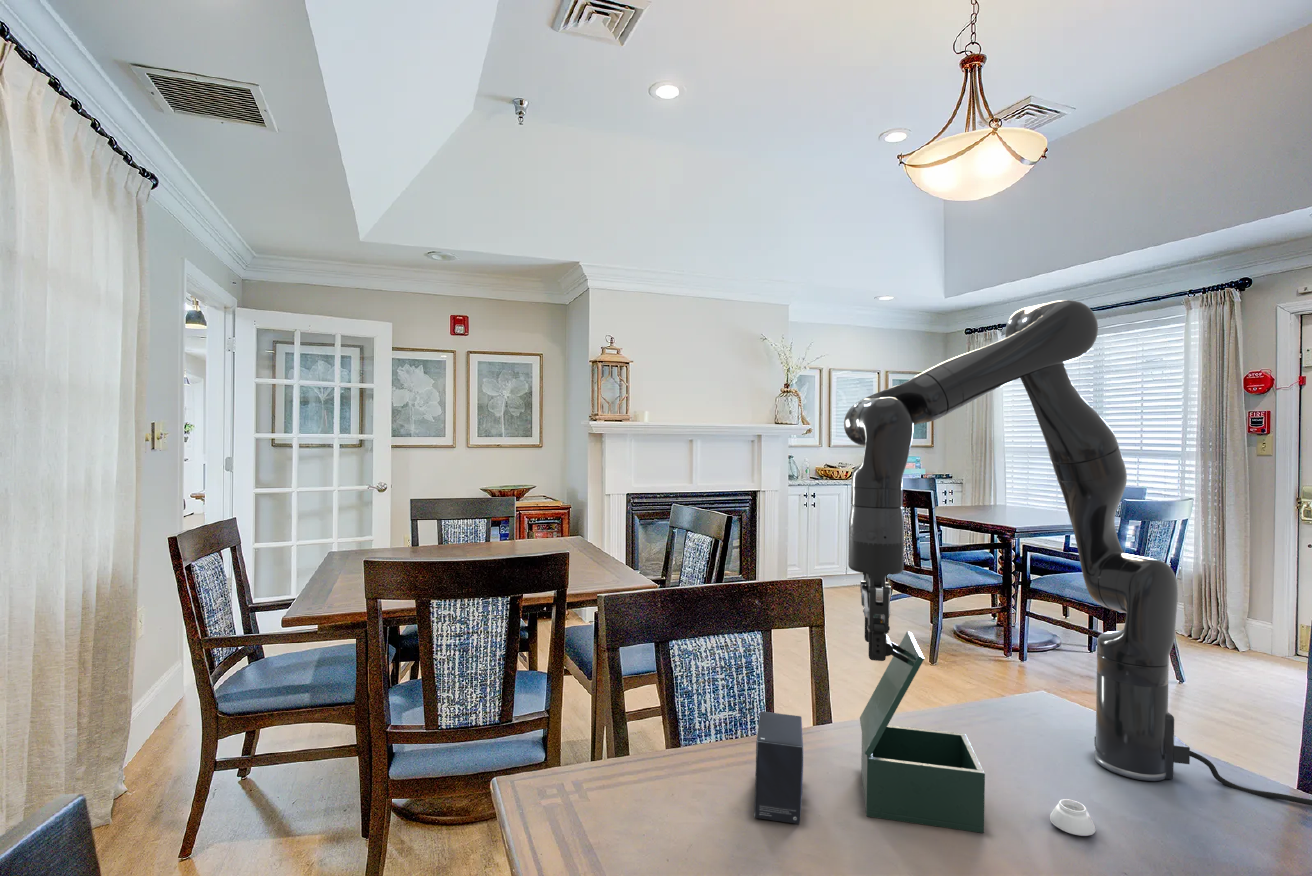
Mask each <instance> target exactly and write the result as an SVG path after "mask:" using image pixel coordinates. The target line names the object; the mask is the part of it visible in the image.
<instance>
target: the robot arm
mask: <svg viewBox="0 0 1312 876" xmlns="http://www.w3.org/2000/svg"><path fill="white" fill-rule="evenodd" d="M1098 333H1099V323H1098V319H1097V317H1096V315H1095V313H1094V311H1093V310H1092V309H1091V308H1090V307H1089V306H1088V305H1087V304H1085V303H1083V302H1081V301H1077V300H1073V299H1072V300H1070V299H1062V300H1061V299H1059V300H1054V301H1050V302H1049V301H1048V302H1045V303H1039V304H1035V305H1031V306H1027V307H1023V308H1021V309H1019V310H1016V311H1015V312H1013V314H1011V316H1010V317H1009V319H1008V320H1007V322H1006V326H1005V331H1004V334H1005V335H1004V336H1005V337H1004V338H1003V339H1000V340H999V341H996V342H993V343H990V344H988V345H986V346H982V347H980V348H976V349H974V350H971V351H969V352H968V351H967V352H966V353H963V354H960V355H958V356H957V355H956V356H955V357H951V358H949V359H947V360H945V361H942V362H940V363H938V364H936V365H934V366H932V367H930V368H928V369H926V370H924V371H922V372H921V373H919V374H916V375H915V376H913V377H912V378H910V379H908V380H906V381H904V382H902V383H900V384H897V385H894V386H891V387H889V388H885V389H884V390H883V389H882V390H881V391H878V392H876V393H873V394H870V395H868V396H866V397H864V398H862V399H860V400H858V401H857V402H855V403H853V404H852V405H851V406H850V408H849V409H848V410H847V412H846V413H845V415H844V419H843V429H844V432H845V434H846V436H847V438H848V439H849V440H850V441H851V442H853V443H854V444H856V445H859V446H860V447H864V452H863V457H862V462H861V463H860V464H858V465H857V466H856V467H854V469H853V470H852V473H851V481H850V510H849V517H848V518H849V519H848V559H847V560H848V567H849V569H850V570H851V571H854V572H856V573H861V574H862V575H863V580H860V581H859V582H860V585H859V587H860V590H859V591H860V593H861V594H860V595H861V596H860V600H861V601H860V603H861V606H862V607H863V609H862V613H863V616H864V641H865V642H866V643H868V658H869V660H871V661H876V662H884V661H886V659H887V656H886V635H888V634H889V631H890V630H891V629H890V628H891V627H890V616H891V602H890V601H891V597H892V586H890V582H887V581H886V577H887V576H888V575H898V574H901V573H902V572H903V571H904V567H905V565H904V562H905V559H904V557H905V518H904V513H903V493H904V492H903V476H904V473H905V470H906V467H907V464H908V459H909V455H910V451H911V447H912V443H913V438H914V426H915V425H920V424H924V423H925V424H926V423H930V422H933V421H935V420H936V421H937V420H939V419H940V418H943V417H945V416H947V415H948V414H950V413H953V412H954V411H956V410H958V409H960V408H962V407H964V406H965V405H968V404H969V403H971V402H973V401H975V400H977V399H979V398H981V397H983V396H985V395H987V394H989V393H991V392H993V391H994V390H997V389H999V388H1002V387H1003V386H1005V385H1008V384H1010V383H1012V382H1014V381H1017V380H1019V379H1020V381H1021V383H1022V385H1023V388H1024V389H1025V392H1026V393H1027V396H1028V398H1029V400H1030V403H1031V406H1032V408H1033V411H1034V415H1035V417H1036V420H1037V422H1038V425H1039V428H1040V431H1041V433H1042V436H1043V439H1044V441H1045V445H1046V448H1047V453H1048V455H1049V460H1050V462H1051V465H1052V468H1053V471H1054V475H1055V477H1056V480H1057V483H1058V485H1059V486H1058V487H1059V488H1060V491H1061V493H1062V496H1063V500H1064V503H1065V506H1066V510H1067V513H1068V516H1069V520H1070V523H1071V526H1072V530H1073V534H1074V539H1075V542H1076V547H1077V553H1078V558H1079V563H1080V567H1081V572H1082V577H1083V581H1084V584H1085V588H1086V590H1087V592H1088V594H1089V596H1090V597H1091V599H1092V600H1093V601H1094V602H1095V603H1096V604H1098V605H1099V606H1101V607H1104V608H1106V609H1109V610H1112V611H1115V612H1116V611H1117V612H1120V613H1123V614H1126V615H1125V622H1124V626H1123V629H1122V630H1114V631H1113V630H1112V631H1105V632H1101V633H1100V634H1099V635H1098V637H1097V639H1096V682H1095V683H1096V688H1095V689H1096V690H1095V691H1096V694H1095V696H1096V697H1095V736H1094V749H1095V750H1094V760H1095V762H1096V763H1097V764H1098V765H1100V766H1101V767H1102V768H1104V769H1106V770H1108V771H1110V772H1112V773H1114V774H1117V775H1121V776H1123V777H1126V778H1129V779H1133V780H1134V779H1135V780H1140V781H1147V782H1157V781H1159V782H1160V781H1163V780H1174V776H1175V775H1174V773H1175V771H1174V768H1175V767H1174V766H1175V765H1174V764H1183V765H1190V762H1191V761H1190V760H1191V759H1190V758H1193V759H1195V760H1198V761H1200V762H1201V763H1202V764H1204V765H1205V766H1206V767H1208V768H1209V770H1210V773H1211V775H1212V776H1213V778H1214V779H1215V780H1216V781H1217V782H1218V783H1220V784H1222V785H1224V786H1226V787H1228V788H1231V789H1235V790H1238V791H1242V792H1245V793H1247V794H1248V793H1249V794H1252V795H1255V796H1258V797H1263V798H1267V799H1268V798H1269V799H1274V800H1281V801H1287V802H1292V803H1297V804H1301V805H1307V806H1310V807H1312V799H1310V798H1305V797H1301V796H1296V795H1290V794H1285V793H1279V792H1272V791H1265V790H1257V789H1252V788H1247V787H1244V786H1240V785H1237V784H1235V783H1234V782H1231V781H1230V780H1227V779H1226V778H1224V777H1222V776H1221V775H1220V774H1219V772H1218V770H1217V768H1216V766H1215V765H1214V764H1213V763H1212V761H1210V760H1209V759H1207V758H1206V757H1204V756H1203V755H1201V754H1199V753H1197V752H1194V751H1192V750H1191V748H1190V746H1189V745H1187V744H1186V743H1185V742H1184V741H1183V740H1181V739H1180V738H1179V737H1178V736H1177V735H1175V717H1174V715H1172V714H1171V713H1170V712H1169V670H1170V669H1169V668H1170V667H1169V664H1170V653H1171V652H1172V648H1173V646H1174V642H1175V637H1176V624H1177V612H1178V600H1179V587H1178V580H1177V577H1176V573H1175V571H1174V570H1173V569H1172V567H1171V566H1170V565H1169V564H1167V562H1164V561H1162V560H1160V559H1155V558H1150V557H1146V556H1140V555H1135V554H1130V553H1126V552H1125V551H1124V549H1123V548H1122V546H1121V543H1120V540H1119V538H1118V532H1117V529H1116V523H1115V519H1116V518H1115V517H1116V513H1117V510H1118V508H1119V506H1120V503H1121V502H1122V501H1121V500H1122V498H1123V495H1124V492H1125V489H1126V487H1127V486H1126V485H1127V481H1128V479H1127V478H1128V473H1127V468H1126V465H1125V461H1124V459H1123V458H1124V457H1123V454H1122V452H1121V449H1120V446H1119V443H1118V442H1119V441H1118V440H1117V437H1116V436H1115V433H1114V432H1113V430H1112V428H1111V427H1110V426H1109V425H1108V423H1107V422H1106V421H1105V420H1104V419H1103V418H1102V417H1101V416H1100V415H1099V413H1098V412H1097V411H1096V410H1095V409H1094V408H1093V407H1092V406H1091V405H1090V404H1089V403H1088V402H1087V401H1086V400H1085V399H1084V398H1083V396H1081V394H1080V393H1079V392H1078V391H1077V389H1076V388H1075V386H1074V385H1073V382H1072V381H1071V378H1070V377H1069V373H1068V371H1067V368H1066V365H1065V363H1069V362H1072V361H1074V360H1077V359H1079V358H1081V357H1083V356H1084V355H1086V354H1087V353H1088V352H1089V351H1090V350H1091V349H1092V347H1093V346H1094V344H1095V343H1096V341H1097V338H1098ZM881 620H882V621H881Z"/></svg>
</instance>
